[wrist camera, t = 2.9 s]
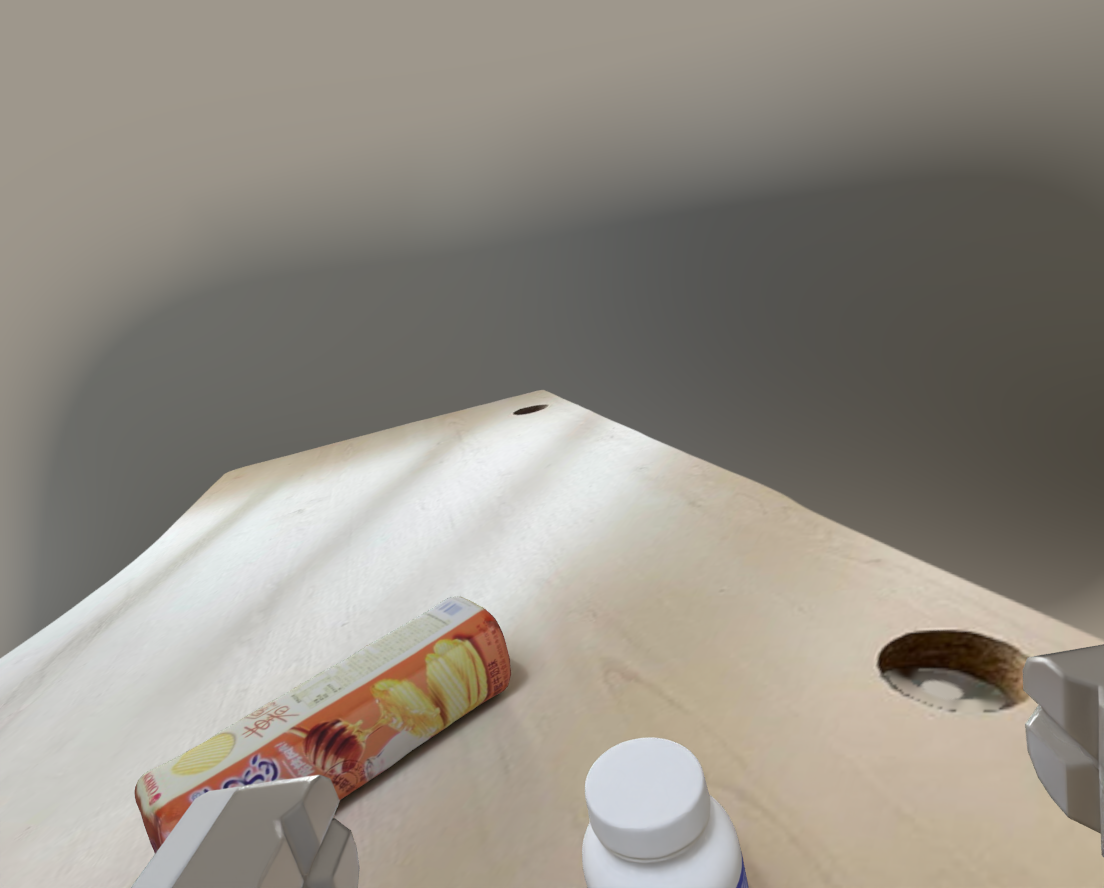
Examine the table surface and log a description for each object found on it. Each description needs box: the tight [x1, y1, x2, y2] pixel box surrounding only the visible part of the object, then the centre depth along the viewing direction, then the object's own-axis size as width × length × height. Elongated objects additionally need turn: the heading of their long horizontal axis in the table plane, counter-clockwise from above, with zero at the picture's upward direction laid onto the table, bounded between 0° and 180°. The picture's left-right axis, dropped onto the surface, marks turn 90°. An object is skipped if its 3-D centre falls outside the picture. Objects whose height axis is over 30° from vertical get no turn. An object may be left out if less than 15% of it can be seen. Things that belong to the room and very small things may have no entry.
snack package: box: [135, 597, 511, 854], centre depth 40 cm, size 21×7×7 cm, turn 130°
